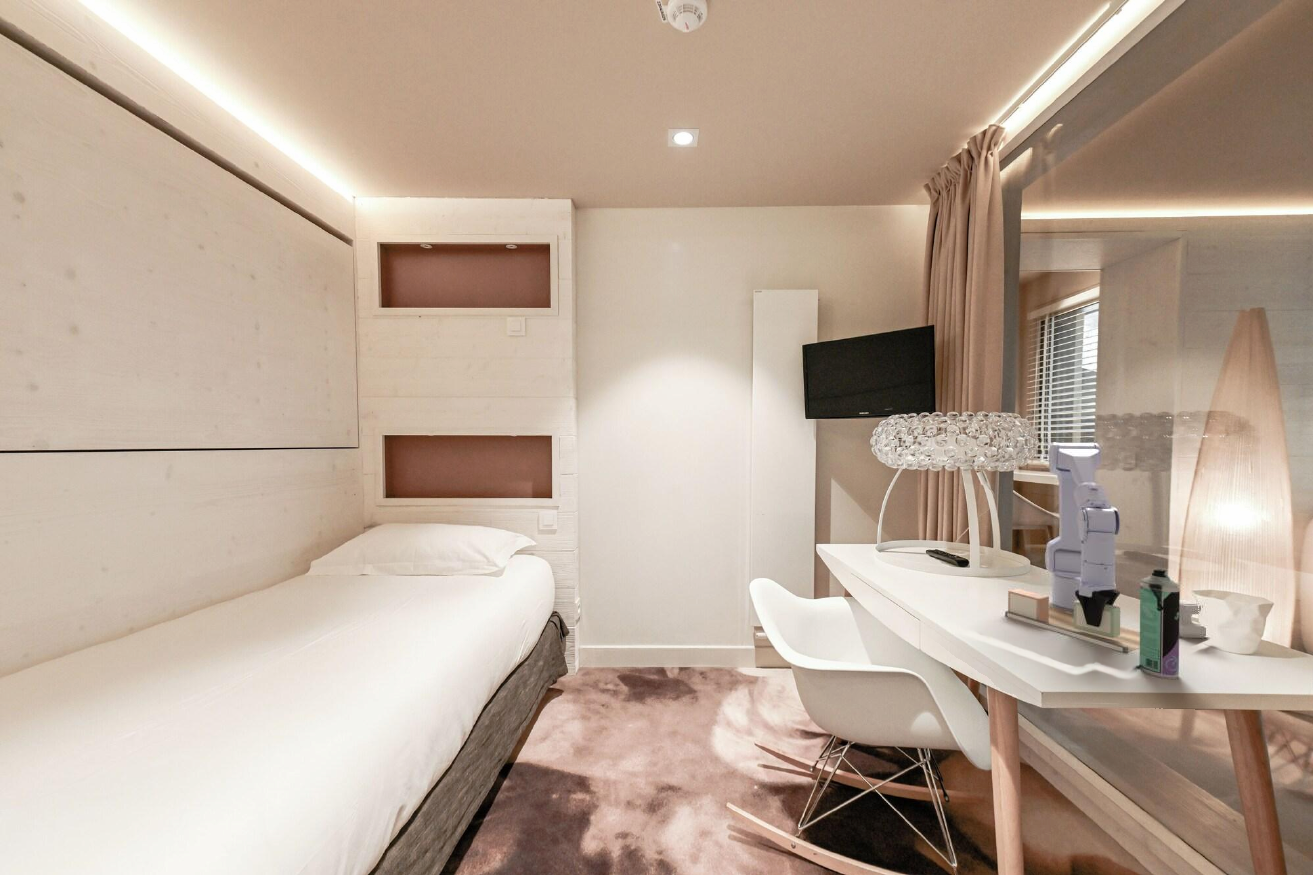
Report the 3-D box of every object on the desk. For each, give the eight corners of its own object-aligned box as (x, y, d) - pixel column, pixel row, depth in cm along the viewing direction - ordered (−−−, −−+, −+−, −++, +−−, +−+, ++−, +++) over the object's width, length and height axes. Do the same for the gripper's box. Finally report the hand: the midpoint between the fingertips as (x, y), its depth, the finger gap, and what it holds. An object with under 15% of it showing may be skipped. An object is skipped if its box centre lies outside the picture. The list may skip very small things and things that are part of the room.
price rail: (1007, 619, 129) (1007, 610, 129) (1128, 657, 107) (1128, 646, 107) (1005, 620, 129) (1005, 611, 129) (1125, 658, 107) (1125, 647, 107)
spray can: (1182, 681, 97) (1184, 574, 97) (1143, 674, 100) (1144, 570, 100) (1173, 670, 102) (1174, 568, 102) (1136, 663, 105) (1137, 564, 104)
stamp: (1188, 633, 121) (1188, 597, 121) (1218, 644, 114) (1219, 606, 114) (1149, 632, 121) (1149, 596, 121) (1177, 644, 114) (1177, 606, 114)
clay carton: (1017, 612, 131) (1018, 588, 131) (1048, 621, 125) (1048, 596, 125) (1007, 614, 129) (1008, 590, 129) (1038, 624, 123) (1038, 598, 123)
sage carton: (1080, 624, 119) (1080, 598, 119) (1120, 634, 114) (1120, 607, 114) (1073, 628, 117) (1073, 601, 117) (1113, 638, 111) (1113, 610, 111)
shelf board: (1045, 610, 136) (1045, 606, 136) (1165, 644, 114) (1165, 638, 114) (1005, 620, 129) (1005, 615, 129) (1125, 658, 107) (1125, 652, 107)
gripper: (1088, 554, 122) (1087, 612, 123) (1062, 562, 115) (1061, 624, 115) (1127, 560, 117) (1126, 621, 117) (1102, 569, 109) (1102, 634, 109)
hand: (1097, 623), depth 115 cm, fingers closed on sage carton, 4 cm apart
